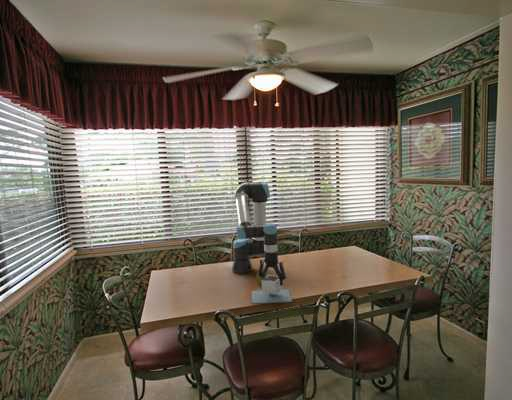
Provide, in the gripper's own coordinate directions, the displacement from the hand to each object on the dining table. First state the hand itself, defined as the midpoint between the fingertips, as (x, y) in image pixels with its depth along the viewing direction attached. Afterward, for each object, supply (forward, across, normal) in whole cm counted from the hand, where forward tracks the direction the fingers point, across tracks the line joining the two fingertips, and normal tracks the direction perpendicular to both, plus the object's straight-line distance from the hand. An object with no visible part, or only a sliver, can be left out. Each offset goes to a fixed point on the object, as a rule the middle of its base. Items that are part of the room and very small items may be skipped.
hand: (272, 289), depth 169 cm
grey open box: (0, 0, 0) cm, 0 cm away
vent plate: (+4, 0, 0) cm, 4 cm away
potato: (+4, -13, +14) cm, 20 cm away
